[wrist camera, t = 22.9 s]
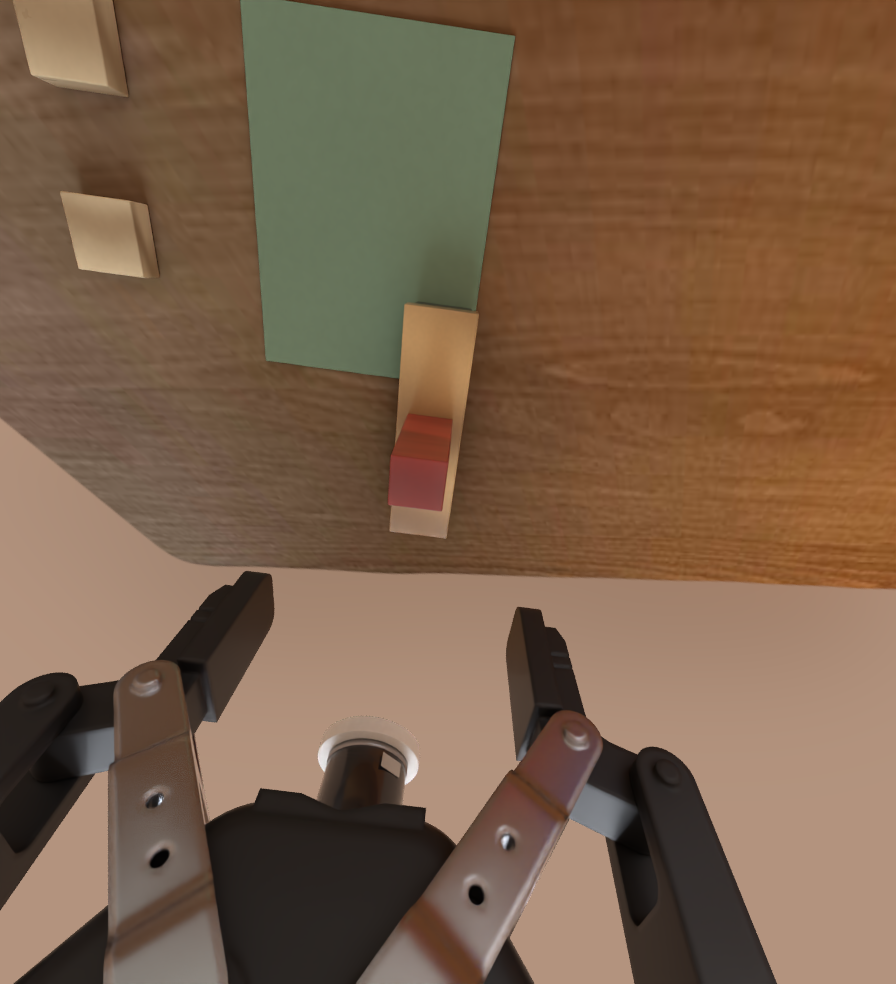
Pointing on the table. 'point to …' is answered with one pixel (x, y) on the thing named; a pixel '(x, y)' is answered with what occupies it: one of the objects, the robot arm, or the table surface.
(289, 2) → the mat
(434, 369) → the brush
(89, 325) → the table surface
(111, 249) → the chip
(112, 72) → the chip
